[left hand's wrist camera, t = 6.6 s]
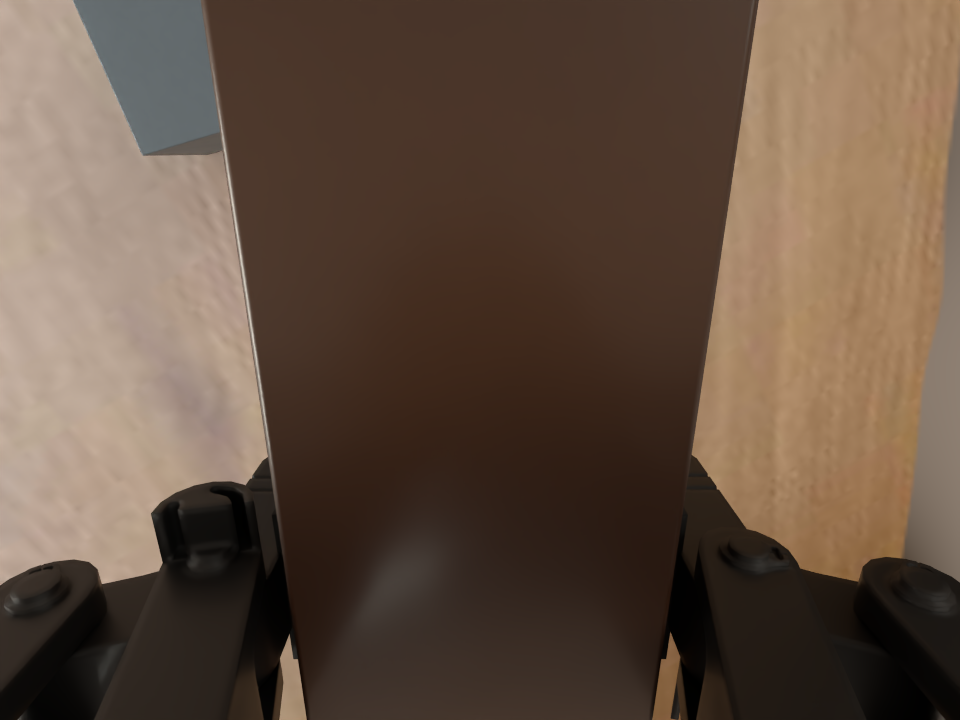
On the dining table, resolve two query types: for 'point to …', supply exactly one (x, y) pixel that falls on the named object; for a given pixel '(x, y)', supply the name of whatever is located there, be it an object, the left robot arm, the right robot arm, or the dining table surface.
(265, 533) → the left robot arm
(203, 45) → the block
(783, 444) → the dining table surface
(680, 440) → the bar
